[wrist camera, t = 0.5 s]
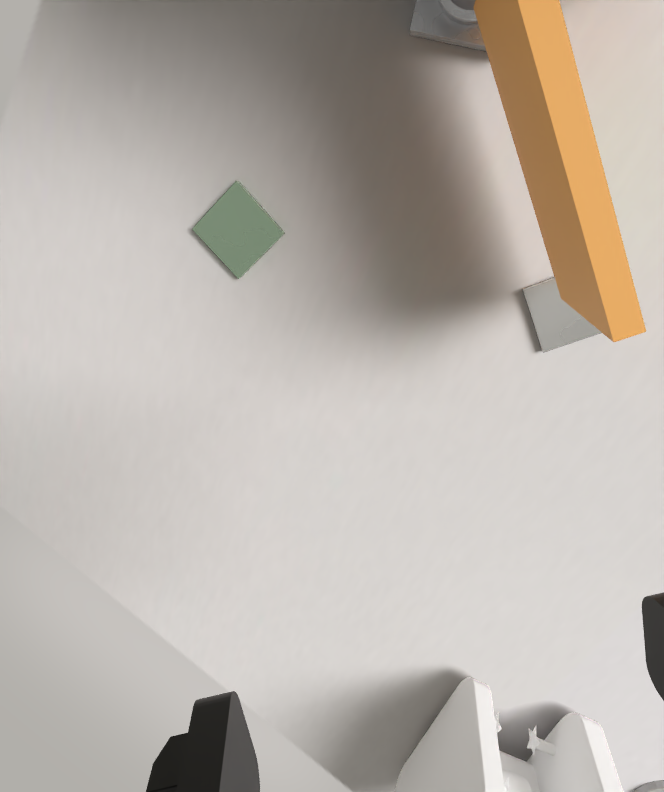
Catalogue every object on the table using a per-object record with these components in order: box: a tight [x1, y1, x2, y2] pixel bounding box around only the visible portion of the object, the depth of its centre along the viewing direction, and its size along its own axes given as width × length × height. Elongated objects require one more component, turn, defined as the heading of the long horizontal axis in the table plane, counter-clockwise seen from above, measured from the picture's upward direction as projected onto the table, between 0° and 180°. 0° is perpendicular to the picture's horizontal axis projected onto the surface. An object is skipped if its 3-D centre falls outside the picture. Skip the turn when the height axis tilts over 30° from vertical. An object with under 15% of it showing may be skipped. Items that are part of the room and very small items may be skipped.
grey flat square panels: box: [192, 0, 602, 353], centre depth 21 cm, size 26×26×20 cm
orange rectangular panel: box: [451, 0, 646, 342], centre depth 24 cm, size 18×3×10 cm, turn 23°
